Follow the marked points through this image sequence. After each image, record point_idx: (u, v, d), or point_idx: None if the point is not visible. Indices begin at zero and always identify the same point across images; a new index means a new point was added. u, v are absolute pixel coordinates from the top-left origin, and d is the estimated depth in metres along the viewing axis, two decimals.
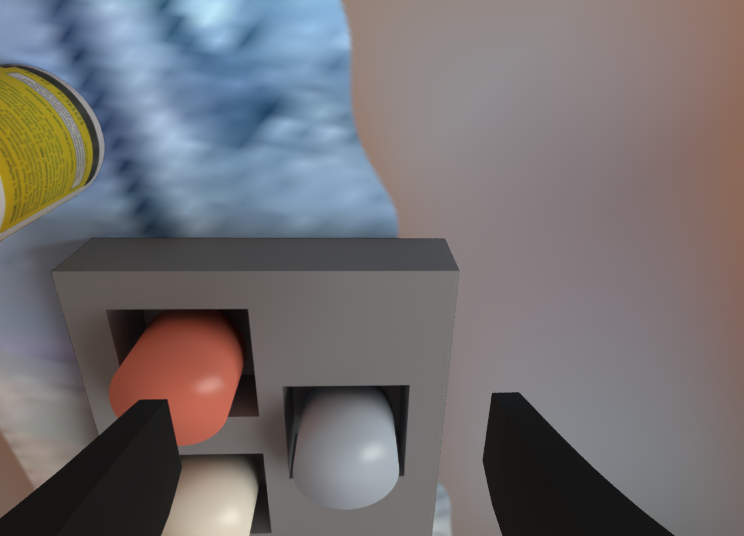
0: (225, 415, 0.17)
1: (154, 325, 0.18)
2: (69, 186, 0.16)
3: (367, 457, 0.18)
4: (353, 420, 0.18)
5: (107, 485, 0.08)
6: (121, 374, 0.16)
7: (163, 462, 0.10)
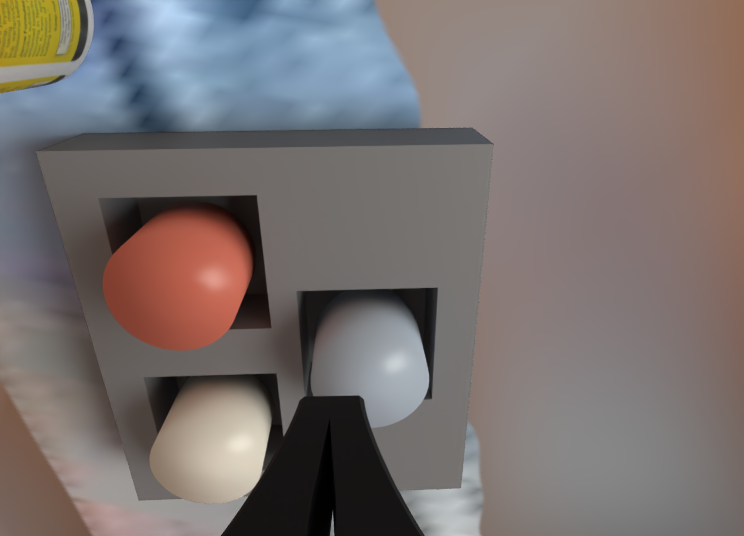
0: (234, 311, 0.15)
1: (153, 218, 0.16)
2: (53, 47, 0.14)
3: (394, 363, 0.16)
4: (377, 321, 0.16)
5: (318, 479, 0.08)
6: (116, 261, 0.14)
7: None
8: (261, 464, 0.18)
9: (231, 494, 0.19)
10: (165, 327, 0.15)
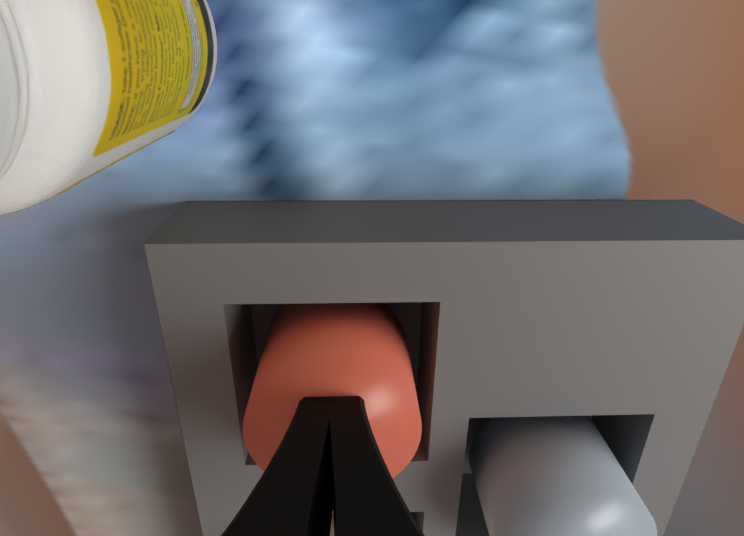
0: (411, 451, 0.11)
1: (295, 317, 0.12)
2: (180, 102, 0.10)
3: (615, 527, 0.12)
4: (591, 471, 0.12)
5: (318, 479, 0.08)
6: (266, 391, 0.11)
7: None
8: None
9: None
10: None
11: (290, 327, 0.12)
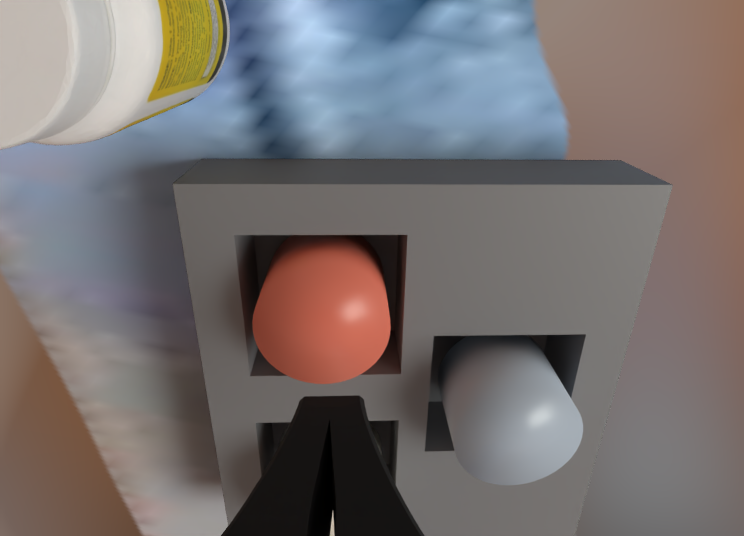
0: (383, 345, 0.15)
1: (293, 245, 0.16)
2: (202, 71, 0.13)
3: (548, 419, 0.15)
4: (530, 374, 0.15)
5: (318, 479, 0.08)
6: (270, 293, 0.14)
7: None
8: None
9: None
10: (310, 360, 0.15)
11: (289, 251, 0.15)
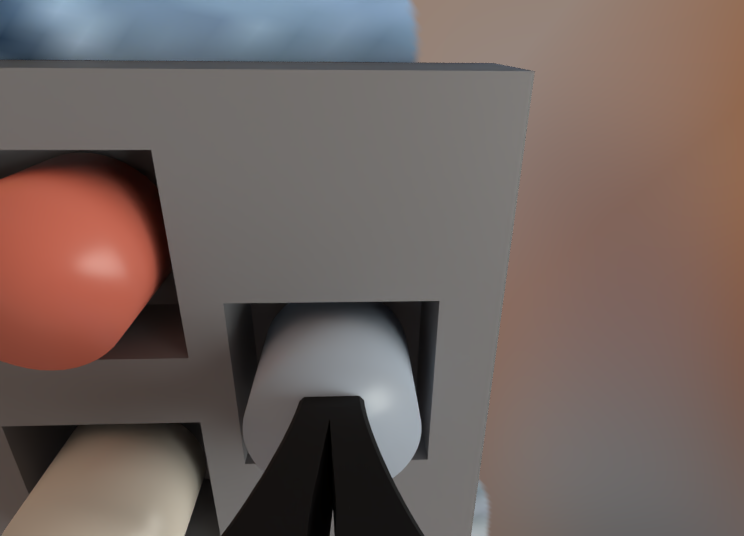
0: (125, 314, 0.10)
1: None
2: None
3: (368, 405, 0.11)
4: (344, 343, 0.11)
5: (318, 479, 0.08)
6: None
7: None
8: None
9: None
10: (22, 336, 0.10)
11: None
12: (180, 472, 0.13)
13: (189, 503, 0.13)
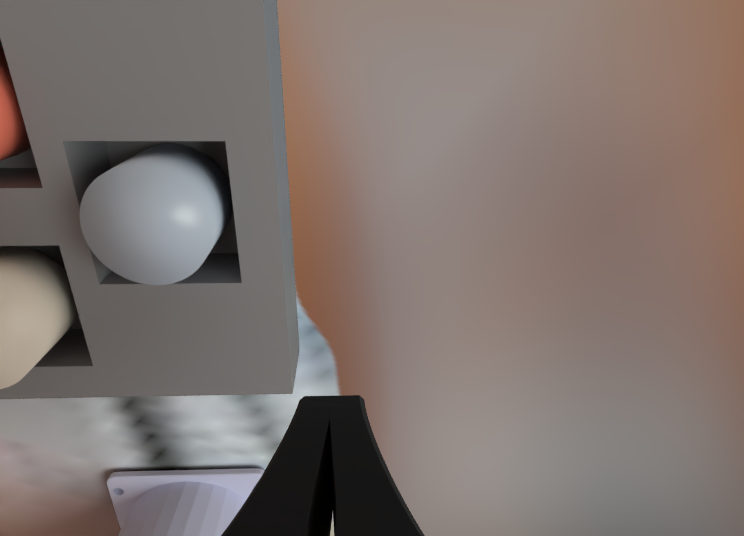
0: None
1: None
2: None
3: (168, 205, 0.15)
4: (151, 160, 0.15)
5: (318, 479, 0.08)
6: None
7: None
8: (31, 342, 0.16)
9: (4, 379, 0.17)
10: None
11: None
12: (48, 289, 0.17)
13: (55, 314, 0.17)
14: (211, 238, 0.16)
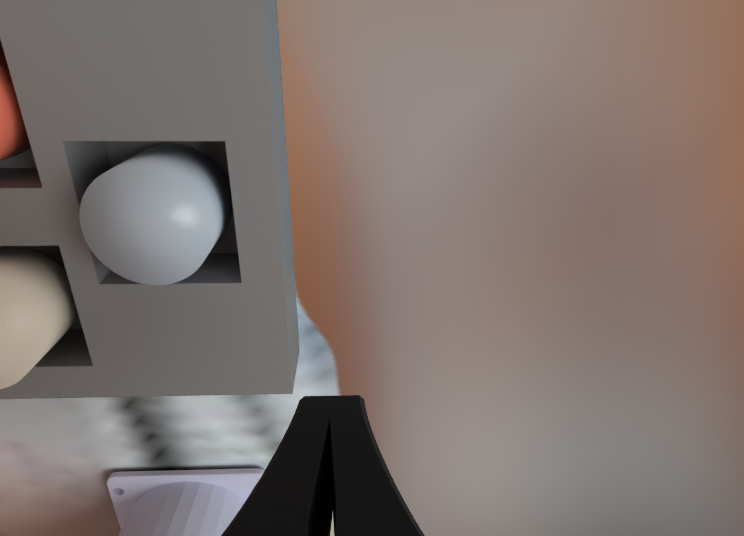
0: None
1: None
2: None
3: (168, 205, 0.15)
4: (150, 160, 0.15)
5: (318, 479, 0.08)
6: None
7: None
8: (31, 342, 0.16)
9: (4, 379, 0.17)
10: None
11: None
12: (48, 289, 0.17)
13: (55, 314, 0.17)
14: (211, 238, 0.16)
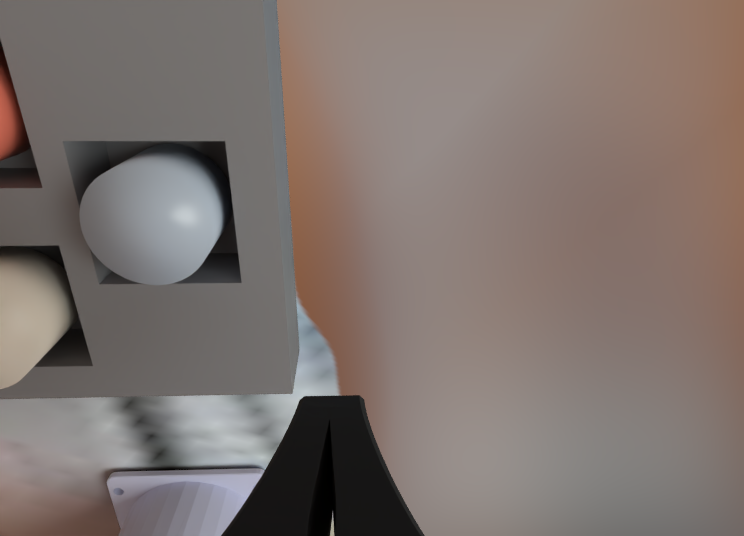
0: None
1: None
2: None
3: (168, 205, 0.15)
4: (150, 160, 0.15)
5: (318, 479, 0.08)
6: None
7: None
8: (31, 342, 0.16)
9: (4, 379, 0.17)
10: None
11: None
12: (48, 289, 0.17)
13: (55, 314, 0.17)
14: (211, 238, 0.16)
